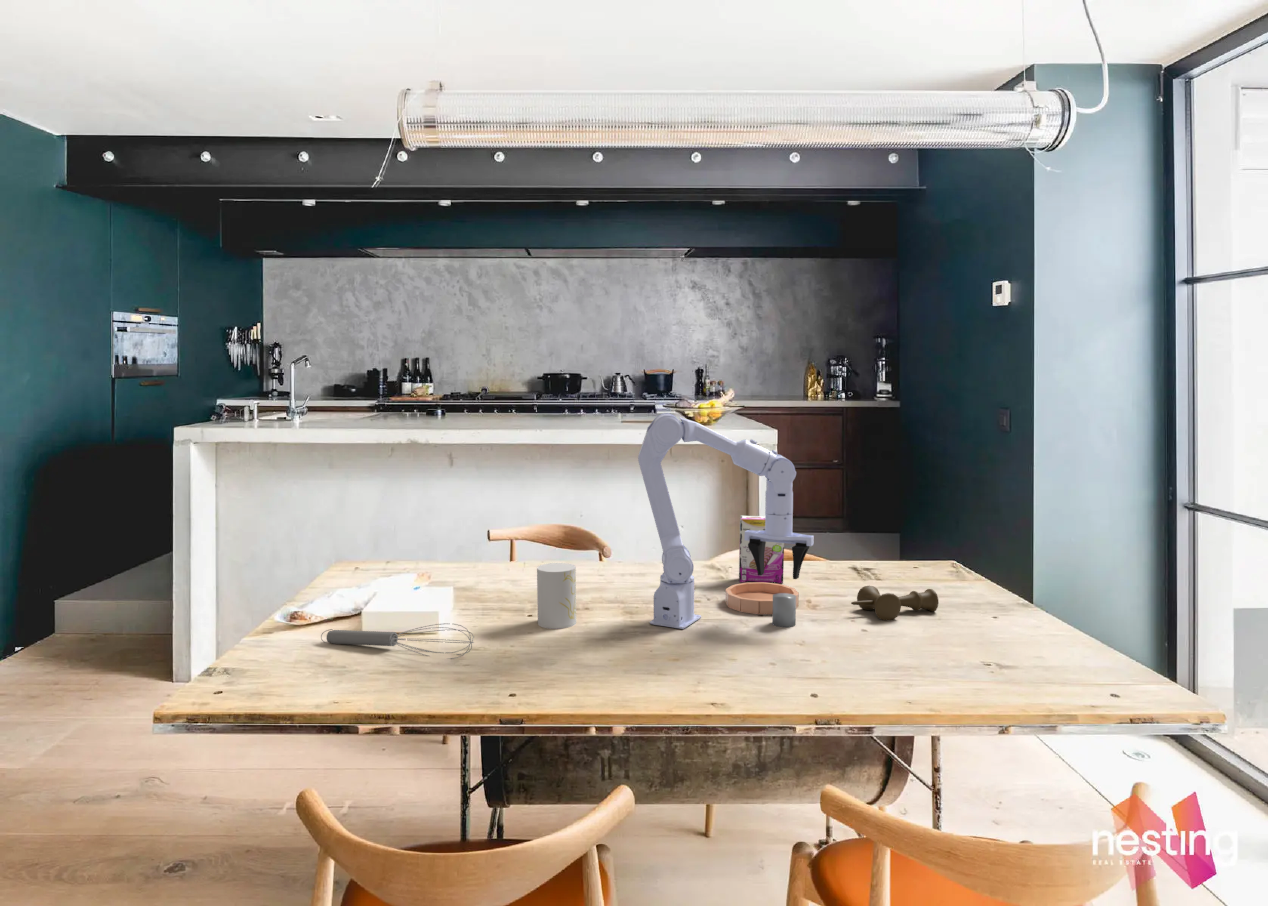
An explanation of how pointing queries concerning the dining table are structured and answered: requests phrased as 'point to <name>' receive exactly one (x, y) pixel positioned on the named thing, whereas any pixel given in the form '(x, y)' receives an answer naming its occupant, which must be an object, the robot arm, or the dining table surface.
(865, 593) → the kendama
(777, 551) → the candy bar box
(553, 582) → the white cylinder
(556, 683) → the dining table surface
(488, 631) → the dining table surface
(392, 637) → the kitchen whisk
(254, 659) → the dining table surface
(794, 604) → the grey cylinder
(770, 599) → the bowl
